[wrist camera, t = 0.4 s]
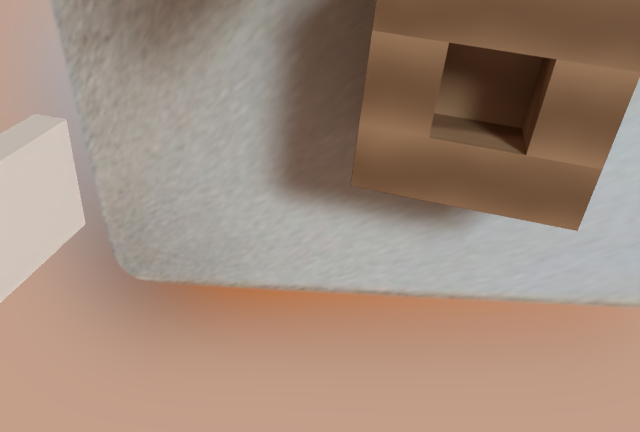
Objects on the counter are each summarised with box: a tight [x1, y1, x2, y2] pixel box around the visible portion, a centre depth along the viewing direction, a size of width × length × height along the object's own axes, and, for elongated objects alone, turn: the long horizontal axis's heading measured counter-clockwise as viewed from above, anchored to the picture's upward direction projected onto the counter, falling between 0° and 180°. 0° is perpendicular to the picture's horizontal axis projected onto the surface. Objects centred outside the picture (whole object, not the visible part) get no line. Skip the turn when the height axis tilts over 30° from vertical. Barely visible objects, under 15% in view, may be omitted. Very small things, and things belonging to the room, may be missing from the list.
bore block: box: [351, 0, 640, 231], centre depth 30 cm, size 12×12×7 cm
